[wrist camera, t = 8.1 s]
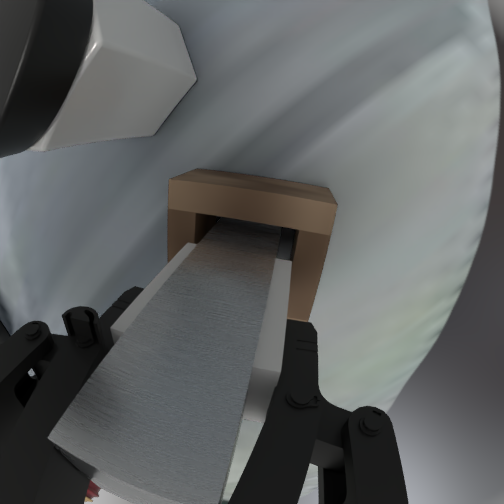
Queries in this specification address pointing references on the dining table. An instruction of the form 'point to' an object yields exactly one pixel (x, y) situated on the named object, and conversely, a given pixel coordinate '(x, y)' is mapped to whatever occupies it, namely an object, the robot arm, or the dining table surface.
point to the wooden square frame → (257, 220)
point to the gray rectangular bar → (178, 377)
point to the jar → (86, 72)
